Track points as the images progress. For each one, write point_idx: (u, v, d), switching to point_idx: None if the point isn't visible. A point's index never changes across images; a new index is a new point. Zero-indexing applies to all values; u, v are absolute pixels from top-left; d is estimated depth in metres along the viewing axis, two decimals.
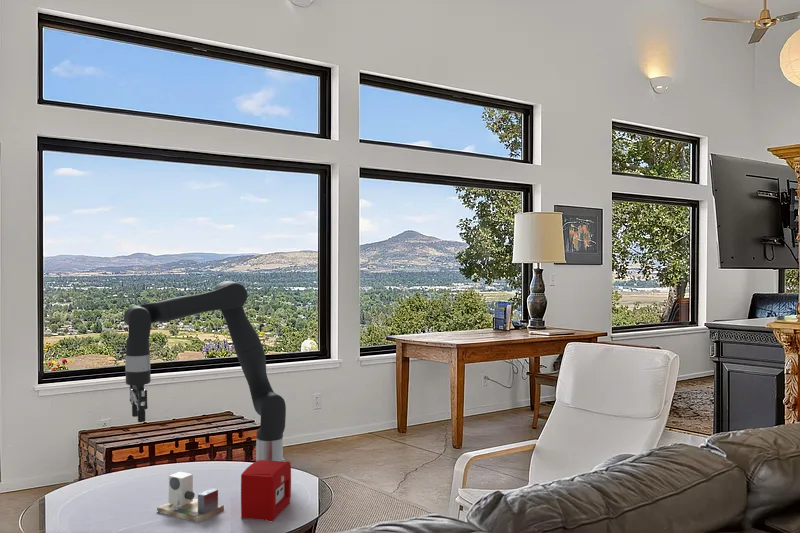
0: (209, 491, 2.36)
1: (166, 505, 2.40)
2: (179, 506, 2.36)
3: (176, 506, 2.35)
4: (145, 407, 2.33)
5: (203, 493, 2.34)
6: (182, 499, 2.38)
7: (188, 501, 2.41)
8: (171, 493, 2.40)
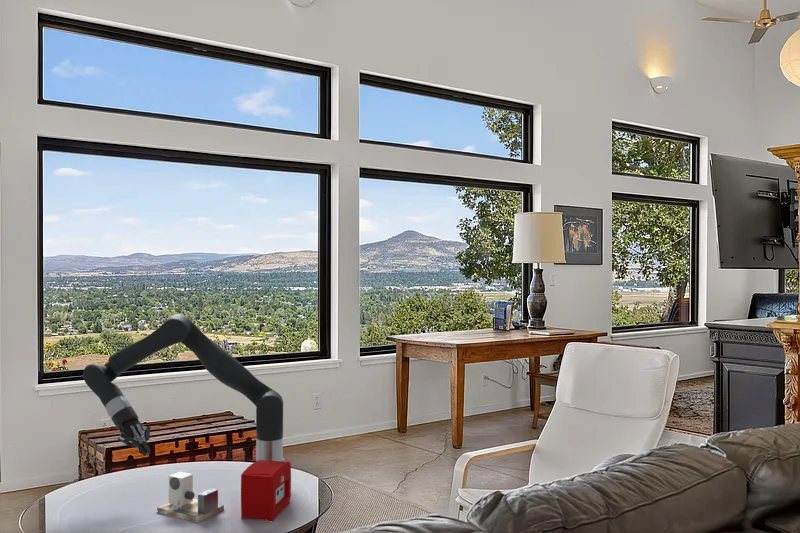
0: (209, 491, 2.36)
1: (166, 505, 2.40)
2: (179, 506, 2.36)
3: (176, 506, 2.35)
4: (133, 442, 2.46)
5: (203, 493, 2.34)
6: (182, 499, 2.38)
7: (188, 501, 2.41)
8: (171, 493, 2.40)
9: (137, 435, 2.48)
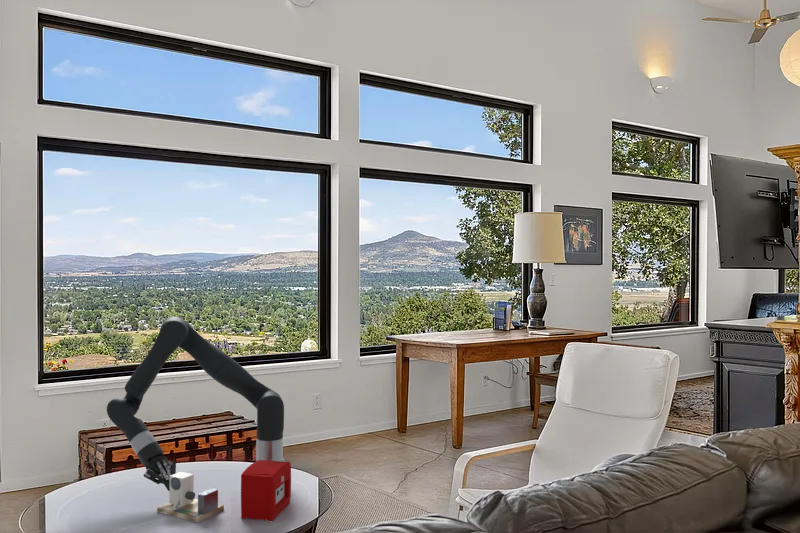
0: (209, 491, 2.36)
1: (166, 505, 2.40)
2: (179, 506, 2.35)
3: (176, 506, 2.35)
4: (159, 479, 2.41)
5: (203, 493, 2.34)
6: (183, 500, 2.38)
7: (189, 501, 2.41)
8: (171, 493, 2.40)
9: (163, 471, 2.43)
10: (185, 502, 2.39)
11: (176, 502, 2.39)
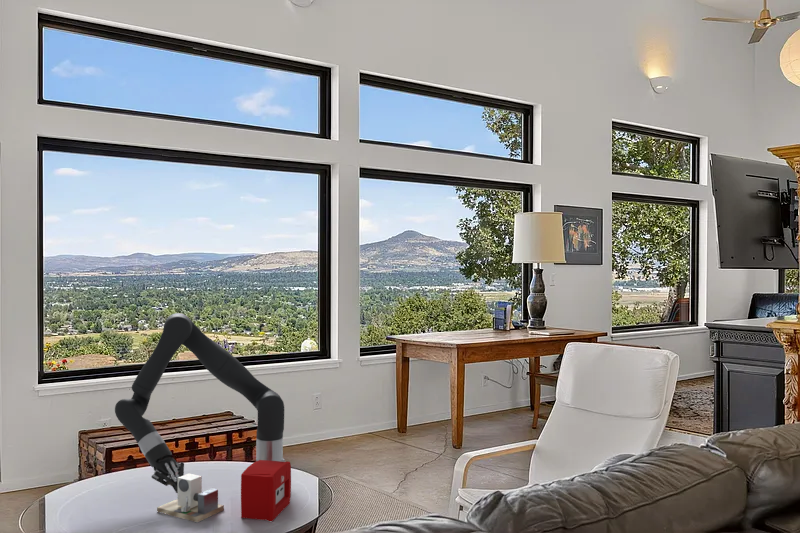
0: (209, 491, 2.36)
1: (166, 505, 2.40)
2: (188, 508, 2.34)
3: (185, 508, 2.33)
4: (167, 481, 2.40)
5: (203, 493, 2.34)
6: (191, 502, 2.36)
7: (197, 503, 2.39)
8: (180, 495, 2.38)
9: (171, 473, 2.42)
10: (193, 504, 2.38)
11: (184, 504, 2.37)
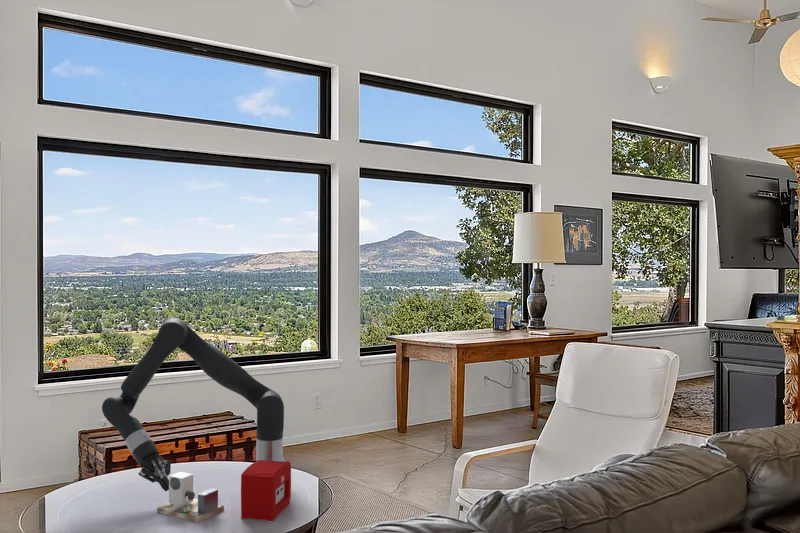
0: (209, 491, 2.36)
1: (166, 505, 2.40)
2: (188, 508, 2.34)
3: (185, 508, 2.33)
4: (154, 478, 2.42)
5: (203, 493, 2.34)
6: (182, 500, 2.38)
7: (188, 501, 2.41)
8: (171, 493, 2.40)
9: (158, 470, 2.44)
10: (185, 502, 2.39)
11: (176, 502, 2.39)
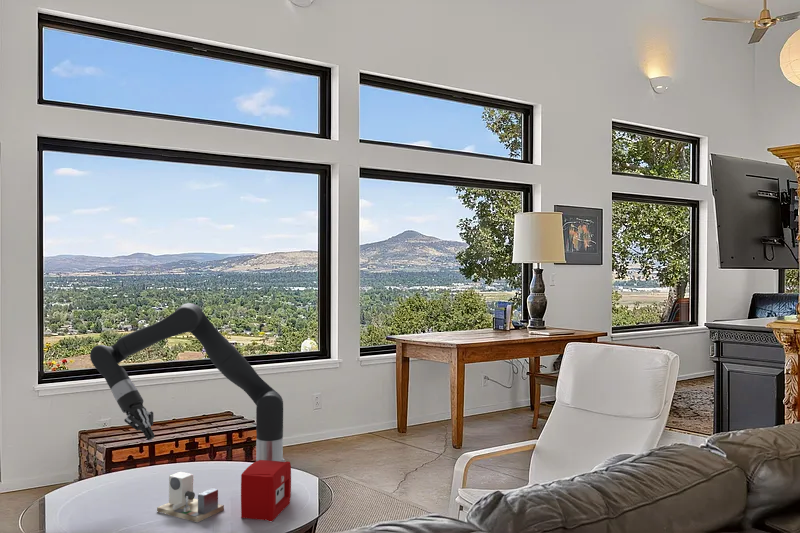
0: (209, 491, 2.36)
1: (166, 505, 2.40)
2: (188, 508, 2.34)
3: (185, 508, 2.33)
4: (139, 426, 2.48)
5: (203, 493, 2.34)
6: (182, 500, 2.38)
7: (188, 501, 2.41)
8: (171, 493, 2.40)
9: (143, 419, 2.50)
10: (185, 502, 2.39)
11: (176, 502, 2.39)
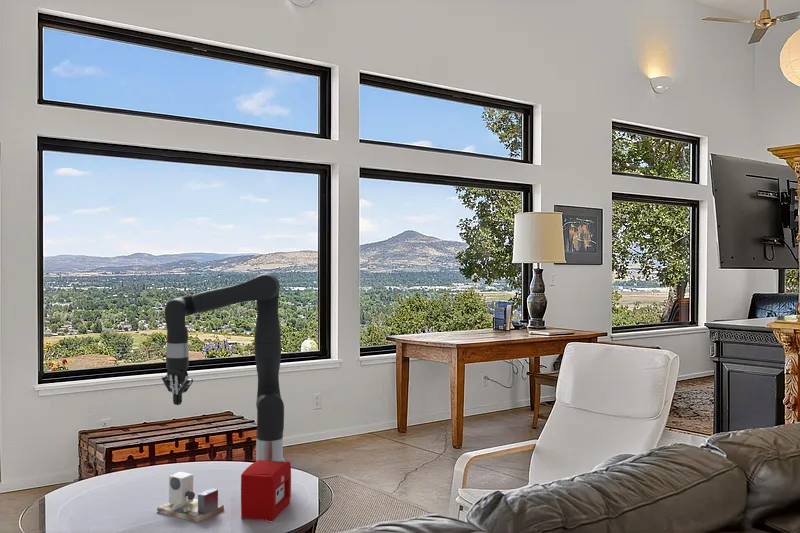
0: (209, 491, 2.36)
1: (166, 505, 2.40)
2: (188, 508, 2.34)
3: (185, 508, 2.33)
4: (185, 390, 2.61)
5: (203, 493, 2.34)
6: (182, 500, 2.38)
7: (188, 501, 2.41)
8: (171, 493, 2.40)
9: None
10: (185, 502, 2.39)
11: (176, 502, 2.39)
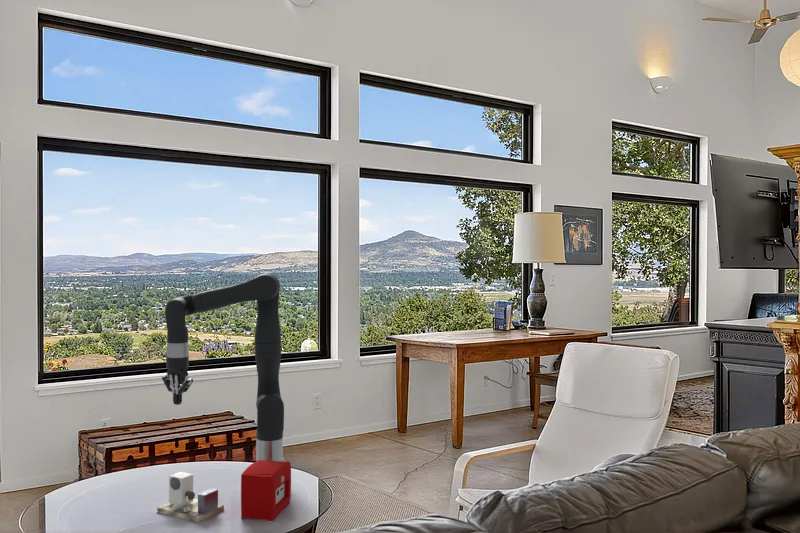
0: (209, 491, 2.36)
1: (166, 505, 2.40)
2: (188, 508, 2.34)
3: (185, 508, 2.33)
4: (185, 390, 2.61)
5: (203, 493, 2.34)
6: (182, 500, 2.38)
7: (188, 501, 2.41)
8: (171, 493, 2.40)
9: None
10: (185, 502, 2.39)
11: (176, 502, 2.39)
